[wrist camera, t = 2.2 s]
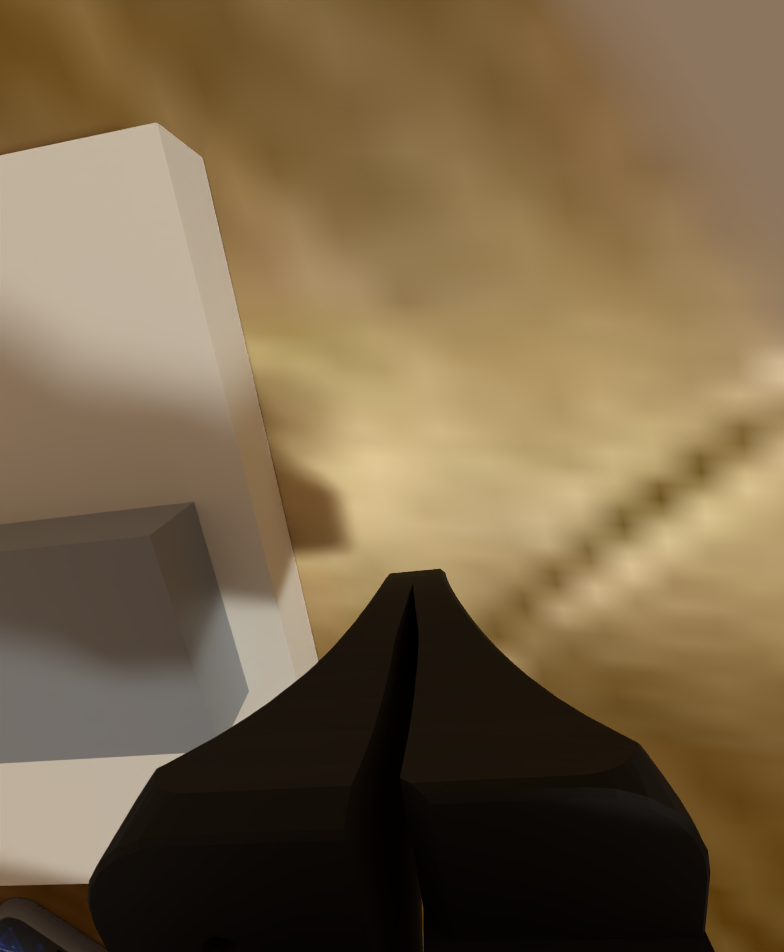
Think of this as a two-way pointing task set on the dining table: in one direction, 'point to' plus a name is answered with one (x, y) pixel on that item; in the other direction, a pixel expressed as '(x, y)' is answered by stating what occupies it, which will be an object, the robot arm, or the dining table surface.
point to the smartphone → (39, 930)
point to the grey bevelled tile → (113, 637)
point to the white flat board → (131, 431)
